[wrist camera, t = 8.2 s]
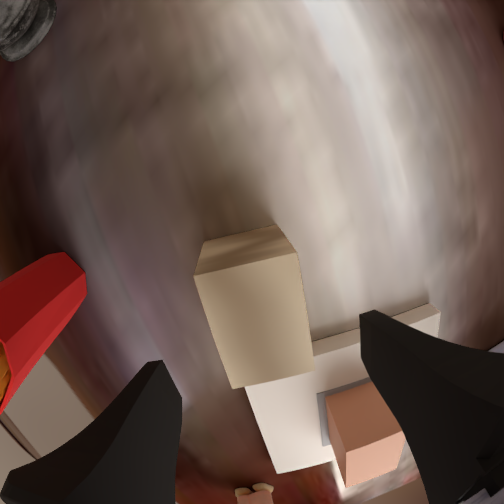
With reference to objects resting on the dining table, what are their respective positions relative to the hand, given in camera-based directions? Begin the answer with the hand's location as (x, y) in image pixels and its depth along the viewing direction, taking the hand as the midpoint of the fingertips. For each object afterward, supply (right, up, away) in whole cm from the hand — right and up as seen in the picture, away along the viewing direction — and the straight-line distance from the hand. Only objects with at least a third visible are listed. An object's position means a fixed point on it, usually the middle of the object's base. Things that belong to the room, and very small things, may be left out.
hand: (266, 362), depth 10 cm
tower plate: (+7, -8, +10) cm, 15 cm away
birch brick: (0, +2, +7) cm, 7 cm away
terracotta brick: (+7, -8, +9) cm, 14 cm away
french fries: (-14, +1, +6) cm, 15 cm away
